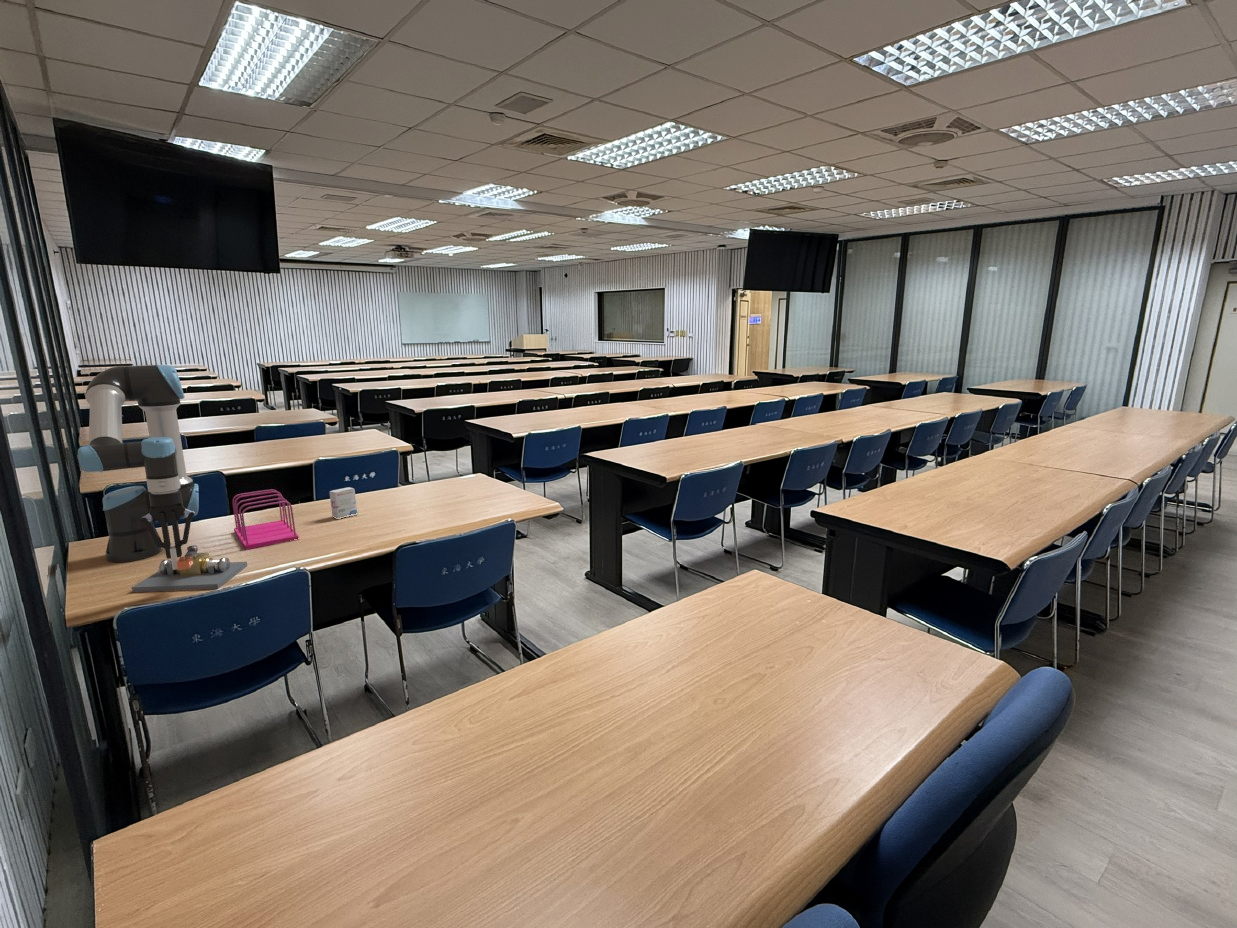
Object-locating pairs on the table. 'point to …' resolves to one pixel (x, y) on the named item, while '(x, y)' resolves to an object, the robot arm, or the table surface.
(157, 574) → the mounting board
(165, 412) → the robot arm
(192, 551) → the valve lever
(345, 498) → the ink box
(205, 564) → the valve pipe
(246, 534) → the file sorter
